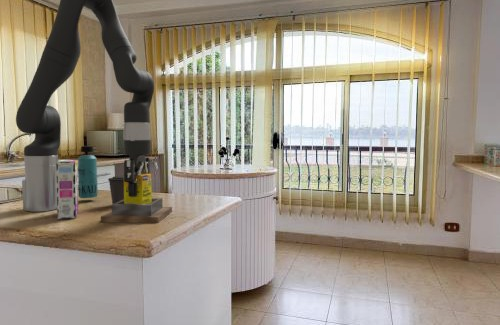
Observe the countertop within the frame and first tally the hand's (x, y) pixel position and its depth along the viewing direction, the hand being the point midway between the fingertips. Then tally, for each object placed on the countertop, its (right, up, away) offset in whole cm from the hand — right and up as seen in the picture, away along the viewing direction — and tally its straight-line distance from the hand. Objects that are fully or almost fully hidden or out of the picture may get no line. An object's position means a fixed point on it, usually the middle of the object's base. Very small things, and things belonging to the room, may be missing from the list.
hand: (138, 194), depth 101 cm
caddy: (0, -7, 0) cm, 7 cm away
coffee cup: (-11, -6, +17) cm, 21 cm away
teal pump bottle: (-26, -5, +24) cm, 36 cm away
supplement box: (0, -5, +1) cm, 5 cm away
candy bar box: (-21, -7, +1) cm, 22 cm away
